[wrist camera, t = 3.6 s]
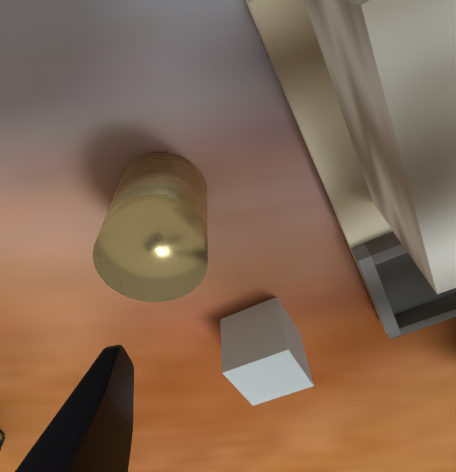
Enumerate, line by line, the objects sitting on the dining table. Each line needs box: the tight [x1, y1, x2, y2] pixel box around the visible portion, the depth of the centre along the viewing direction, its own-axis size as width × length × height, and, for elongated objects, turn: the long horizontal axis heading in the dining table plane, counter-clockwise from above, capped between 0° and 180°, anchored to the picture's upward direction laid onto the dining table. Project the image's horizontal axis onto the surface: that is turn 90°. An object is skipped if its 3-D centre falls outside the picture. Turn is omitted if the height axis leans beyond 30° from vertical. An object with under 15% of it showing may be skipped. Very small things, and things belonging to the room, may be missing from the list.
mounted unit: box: [246, 0, 456, 339], centre depth 18 cm, size 23×8×8 cm, turn 28°
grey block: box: [220, 297, 314, 405], centre depth 26 cm, size 4×4×4 cm
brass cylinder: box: [93, 152, 208, 302], centre depth 18 cm, size 5×5×6 cm
